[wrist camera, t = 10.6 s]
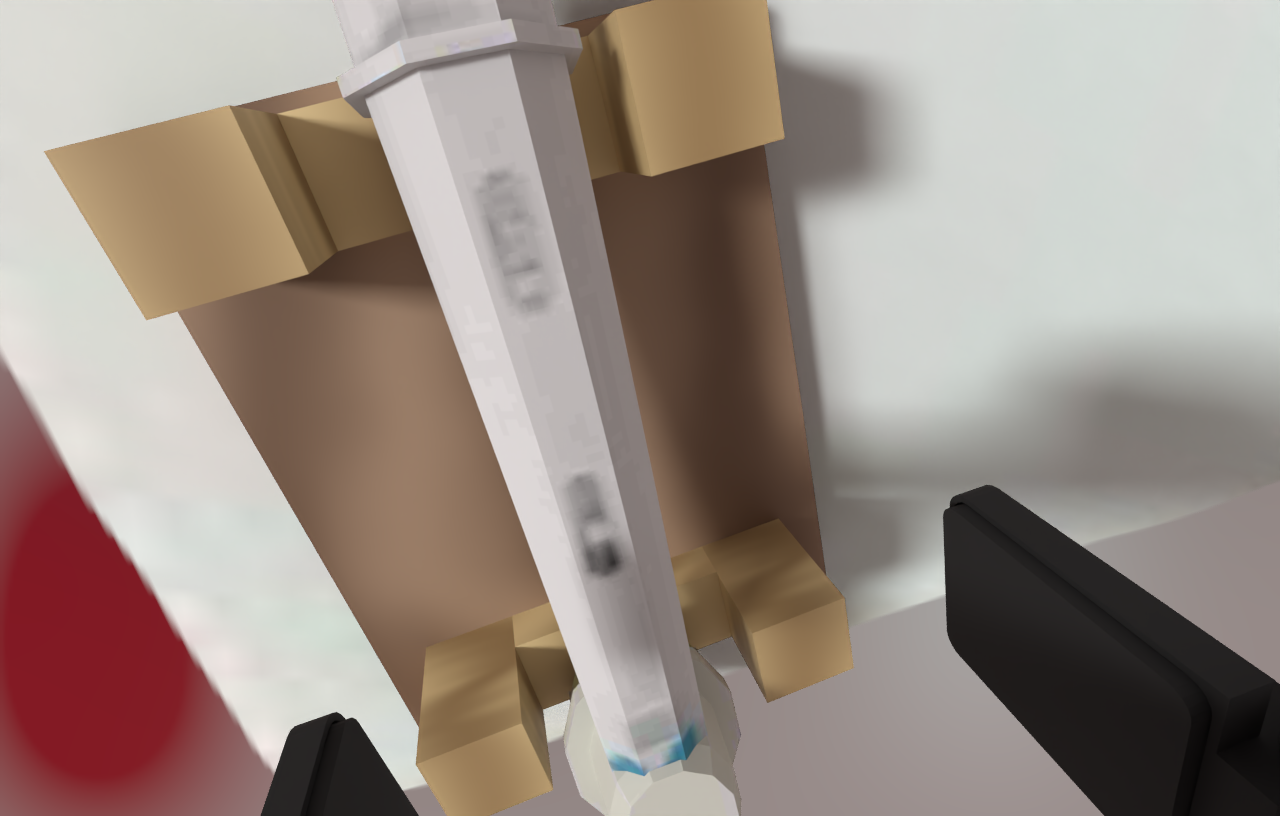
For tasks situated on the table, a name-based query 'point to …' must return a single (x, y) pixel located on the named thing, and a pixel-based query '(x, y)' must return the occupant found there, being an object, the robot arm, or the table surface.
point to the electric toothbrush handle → (548, 373)
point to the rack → (442, 396)
